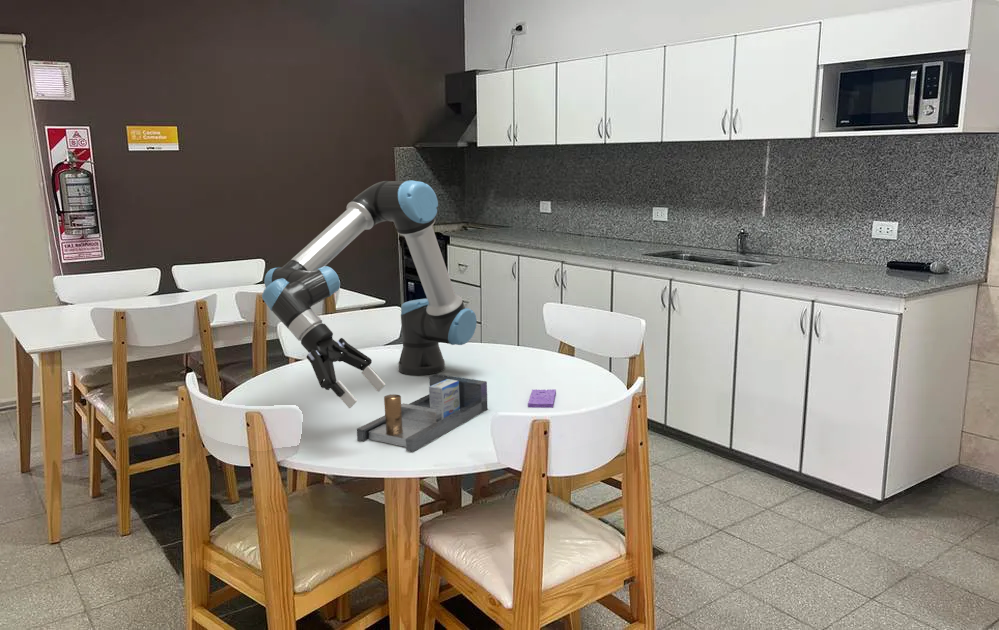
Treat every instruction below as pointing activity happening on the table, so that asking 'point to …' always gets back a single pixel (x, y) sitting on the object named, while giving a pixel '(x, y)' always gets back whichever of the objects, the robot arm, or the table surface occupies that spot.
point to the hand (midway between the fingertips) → (368, 396)
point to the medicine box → (445, 397)
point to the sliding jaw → (403, 421)
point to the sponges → (542, 398)
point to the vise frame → (470, 406)
